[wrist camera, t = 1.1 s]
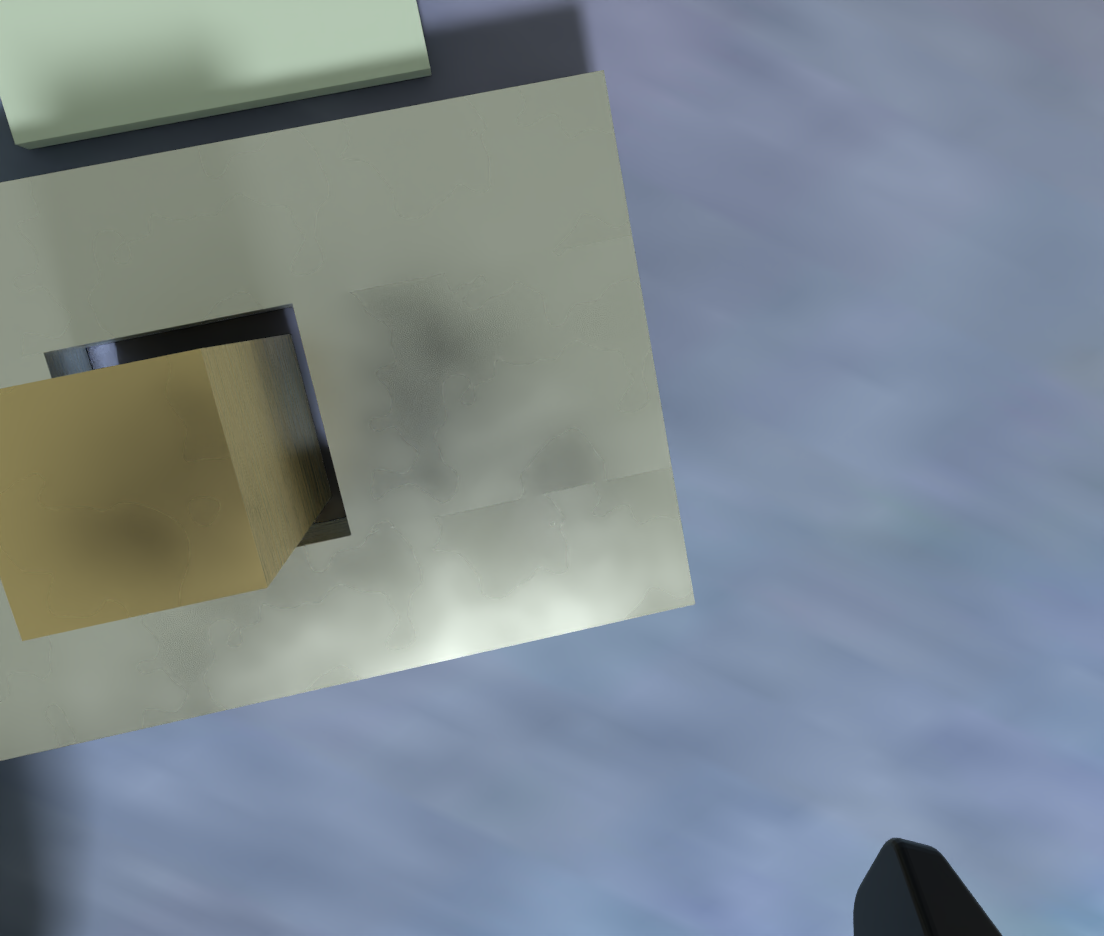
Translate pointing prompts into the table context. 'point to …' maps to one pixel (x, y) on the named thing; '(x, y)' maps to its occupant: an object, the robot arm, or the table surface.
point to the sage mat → (190, 59)
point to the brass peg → (154, 484)
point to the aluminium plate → (371, 392)
